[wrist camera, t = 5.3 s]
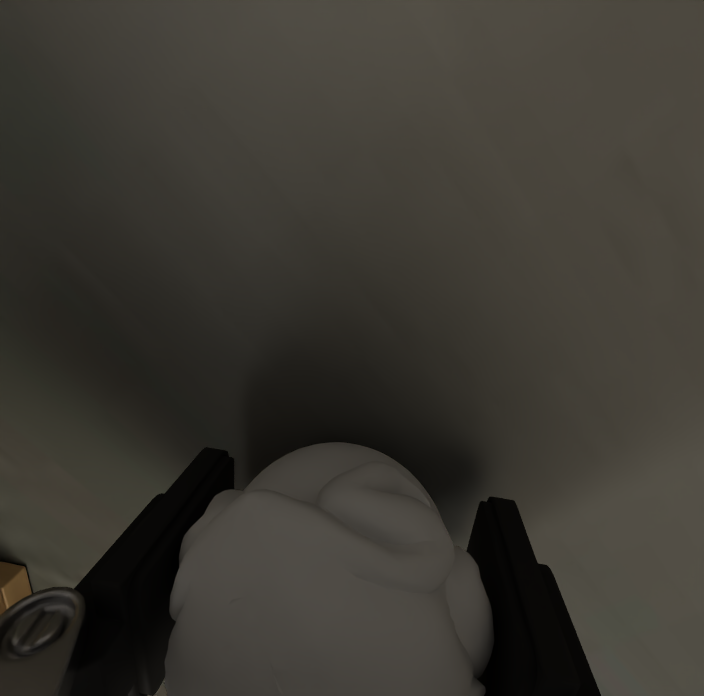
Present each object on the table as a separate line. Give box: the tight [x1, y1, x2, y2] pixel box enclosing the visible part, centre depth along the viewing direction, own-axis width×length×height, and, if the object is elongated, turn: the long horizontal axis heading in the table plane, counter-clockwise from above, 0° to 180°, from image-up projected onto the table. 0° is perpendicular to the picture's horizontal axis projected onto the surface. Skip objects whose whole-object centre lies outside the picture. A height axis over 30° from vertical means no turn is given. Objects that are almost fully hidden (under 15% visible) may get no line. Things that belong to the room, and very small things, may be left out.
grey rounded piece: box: [164, 442, 495, 696], centre depth 8 cm, size 6×7×7 cm
